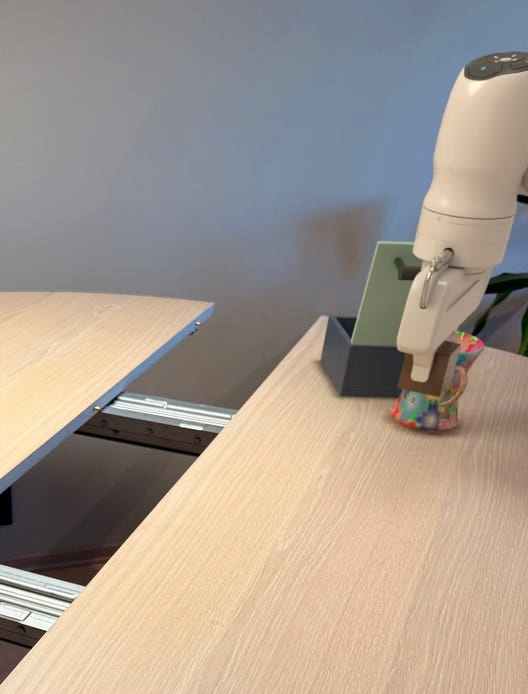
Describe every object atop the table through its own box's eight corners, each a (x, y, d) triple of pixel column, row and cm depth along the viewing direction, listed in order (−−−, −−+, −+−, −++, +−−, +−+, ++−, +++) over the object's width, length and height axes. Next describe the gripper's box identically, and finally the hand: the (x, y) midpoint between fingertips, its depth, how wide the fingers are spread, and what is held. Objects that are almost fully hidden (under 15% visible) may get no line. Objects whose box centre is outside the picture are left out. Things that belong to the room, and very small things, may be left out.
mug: (374, 407, 129) (393, 327, 123) (442, 407, 130) (464, 327, 124) (410, 447, 119) (432, 362, 113) (483, 446, 120) (509, 361, 114)
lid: (377, 240, 118) (386, 259, 115) (456, 243, 119) (468, 261, 115) (350, 341, 128) (358, 361, 125) (423, 343, 128) (433, 363, 125)
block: (450, 384, 109) (461, 343, 107) (439, 397, 106) (449, 356, 104) (409, 375, 111) (419, 335, 109) (397, 388, 108) (406, 347, 106)
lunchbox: (319, 362, 142) (328, 315, 138) (385, 363, 142) (396, 317, 138) (340, 395, 132) (350, 346, 128) (411, 397, 132) (423, 348, 128)
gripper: (465, 268, 91) (429, 408, 99) (515, 223, 105) (480, 350, 113) (398, 257, 94) (368, 394, 102) (456, 215, 108) (425, 339, 116)
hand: (428, 370), depth 108 cm, fingers closed on block, 4 cm apart
